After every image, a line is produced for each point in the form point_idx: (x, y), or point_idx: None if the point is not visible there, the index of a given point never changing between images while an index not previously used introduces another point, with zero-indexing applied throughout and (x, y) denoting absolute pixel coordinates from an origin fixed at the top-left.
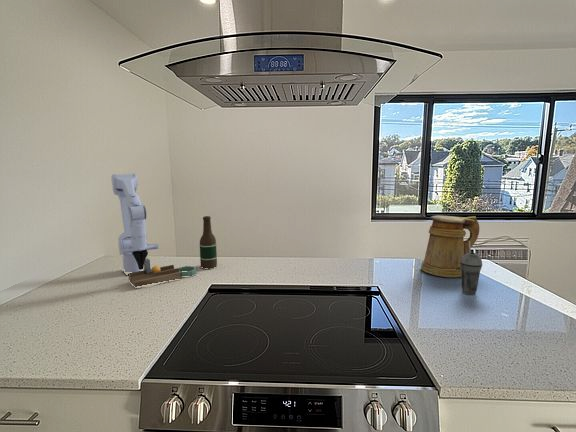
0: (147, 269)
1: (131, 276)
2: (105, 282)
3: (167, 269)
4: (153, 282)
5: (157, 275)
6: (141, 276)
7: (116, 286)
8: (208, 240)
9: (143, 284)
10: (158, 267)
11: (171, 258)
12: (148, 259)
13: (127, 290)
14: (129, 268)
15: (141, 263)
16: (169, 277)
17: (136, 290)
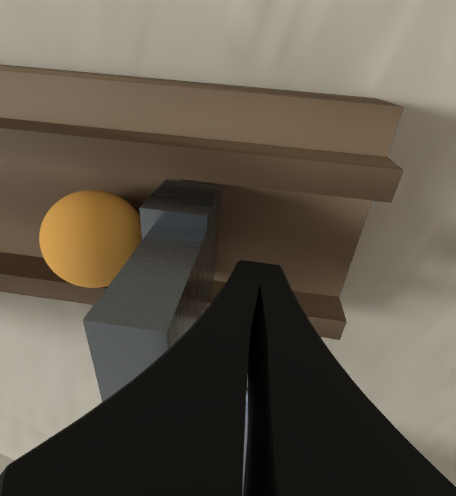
0: (190, 232)
1: (327, 298)
2: (414, 387)
3: (5, 254)
4: (194, 83)
5: (116, 132)
6: (303, 157)
7: (422, 287)
8: None
9: (300, 94)
10: (49, 224)
11: (7, 444)
12: (102, 353)
13: (435, 135)
14: (245, 439)
15: (252, 322)
16: (13, 68)
17: (383, 66)
